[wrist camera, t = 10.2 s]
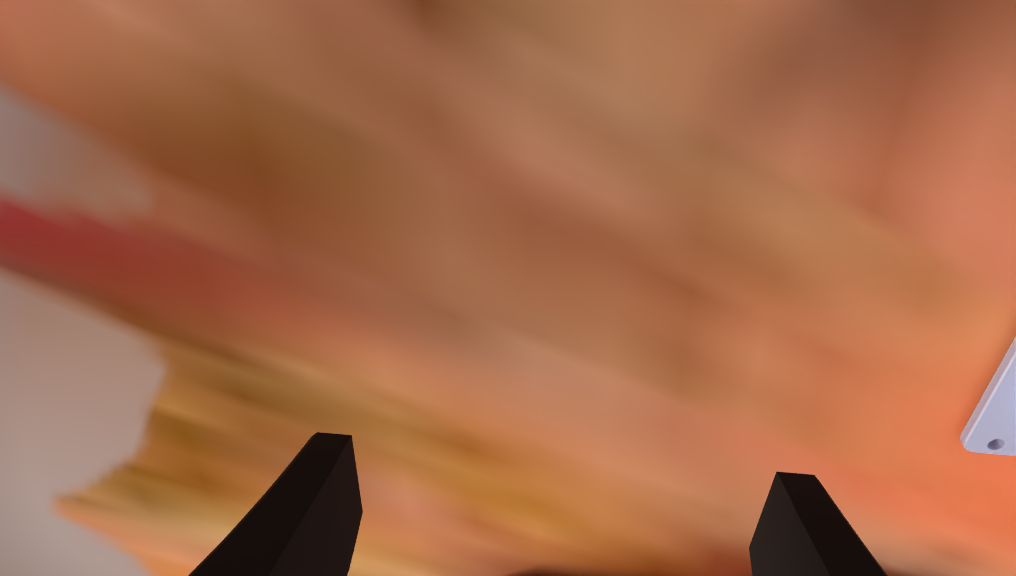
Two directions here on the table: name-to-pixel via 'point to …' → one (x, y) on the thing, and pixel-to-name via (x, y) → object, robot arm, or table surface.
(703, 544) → the table surface
